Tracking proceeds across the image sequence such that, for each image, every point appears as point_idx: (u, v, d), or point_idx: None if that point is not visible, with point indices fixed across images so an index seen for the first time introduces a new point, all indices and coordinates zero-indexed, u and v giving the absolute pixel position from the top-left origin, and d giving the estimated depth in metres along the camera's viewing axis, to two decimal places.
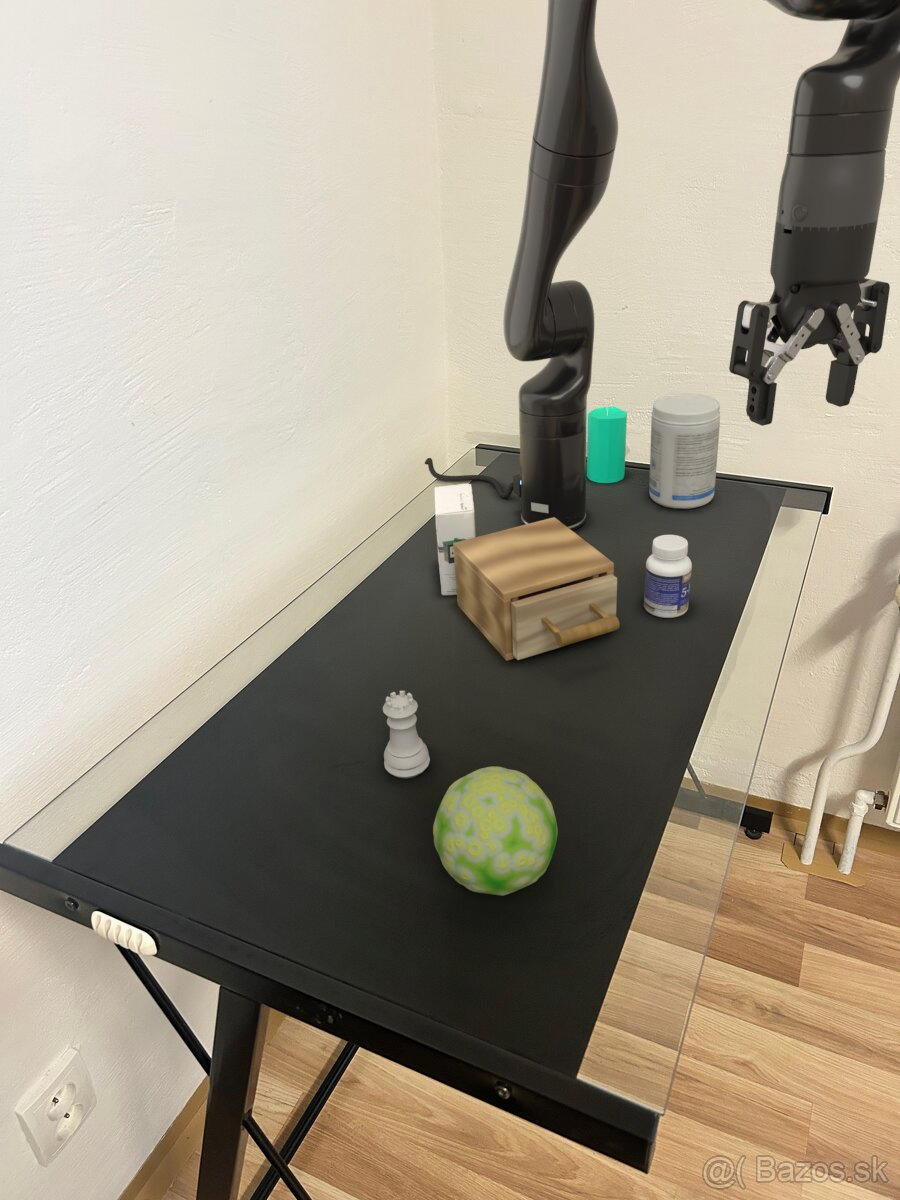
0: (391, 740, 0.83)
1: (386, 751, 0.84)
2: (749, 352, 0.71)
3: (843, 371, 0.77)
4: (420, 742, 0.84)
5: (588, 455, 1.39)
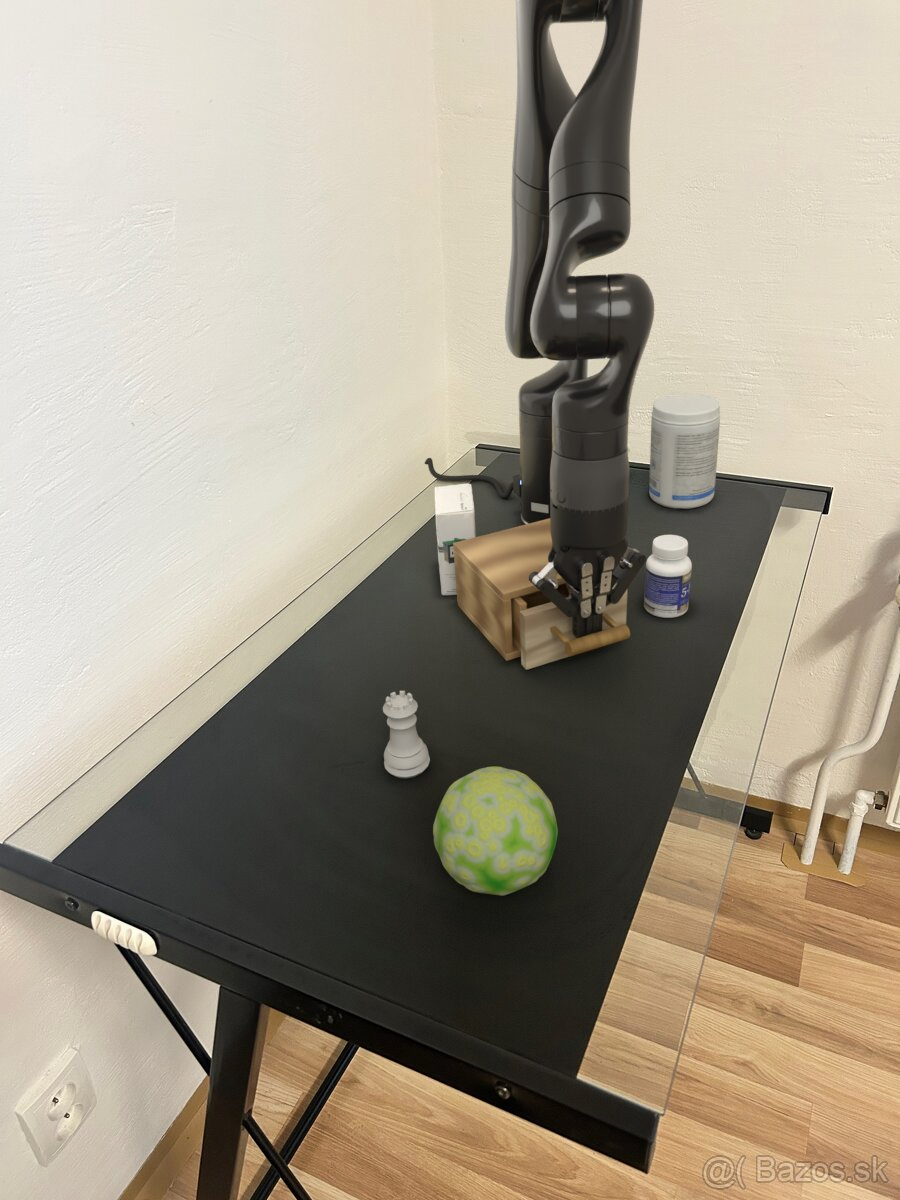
0: (391, 740, 0.83)
1: (386, 751, 0.84)
2: None
3: None
4: (420, 742, 0.84)
5: None
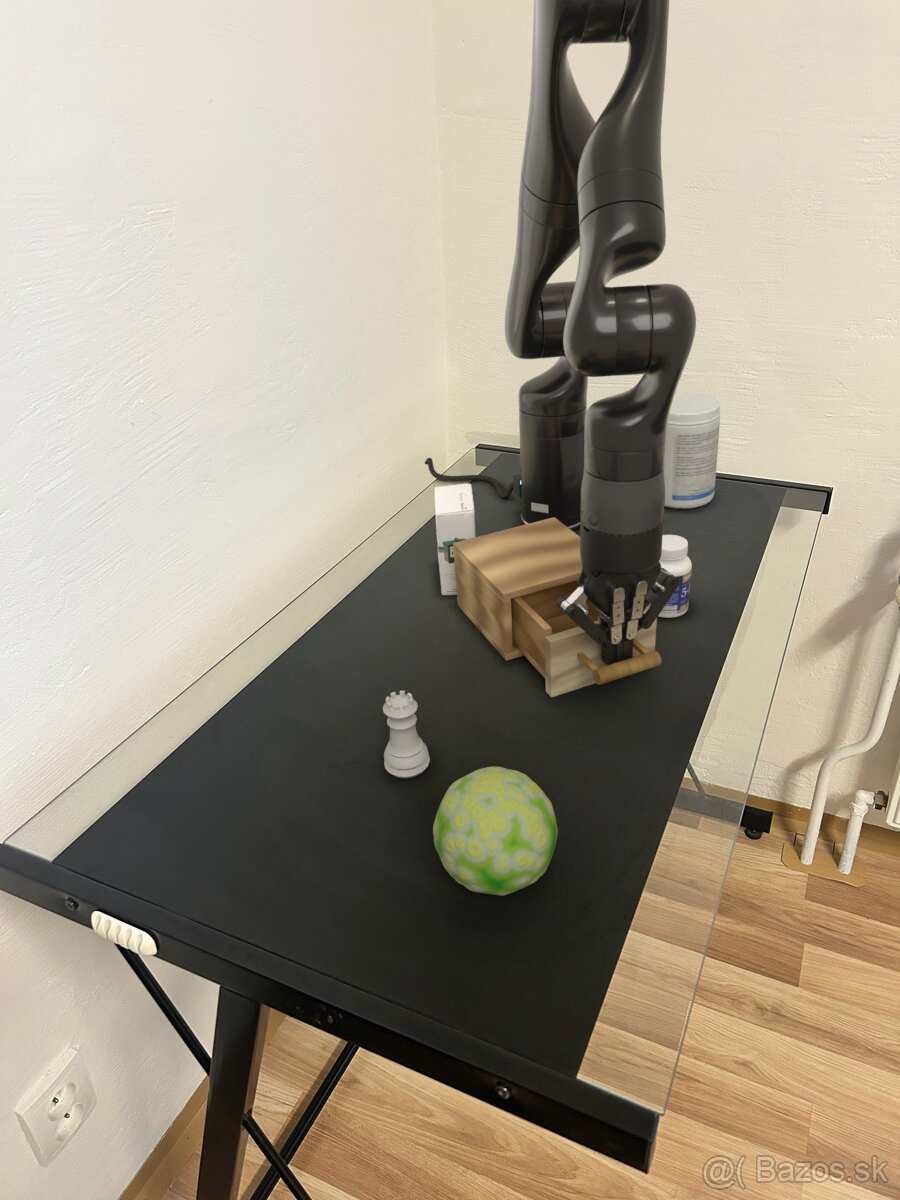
0: (391, 740, 0.83)
1: (386, 751, 0.84)
2: None
3: None
4: (420, 742, 0.84)
5: None
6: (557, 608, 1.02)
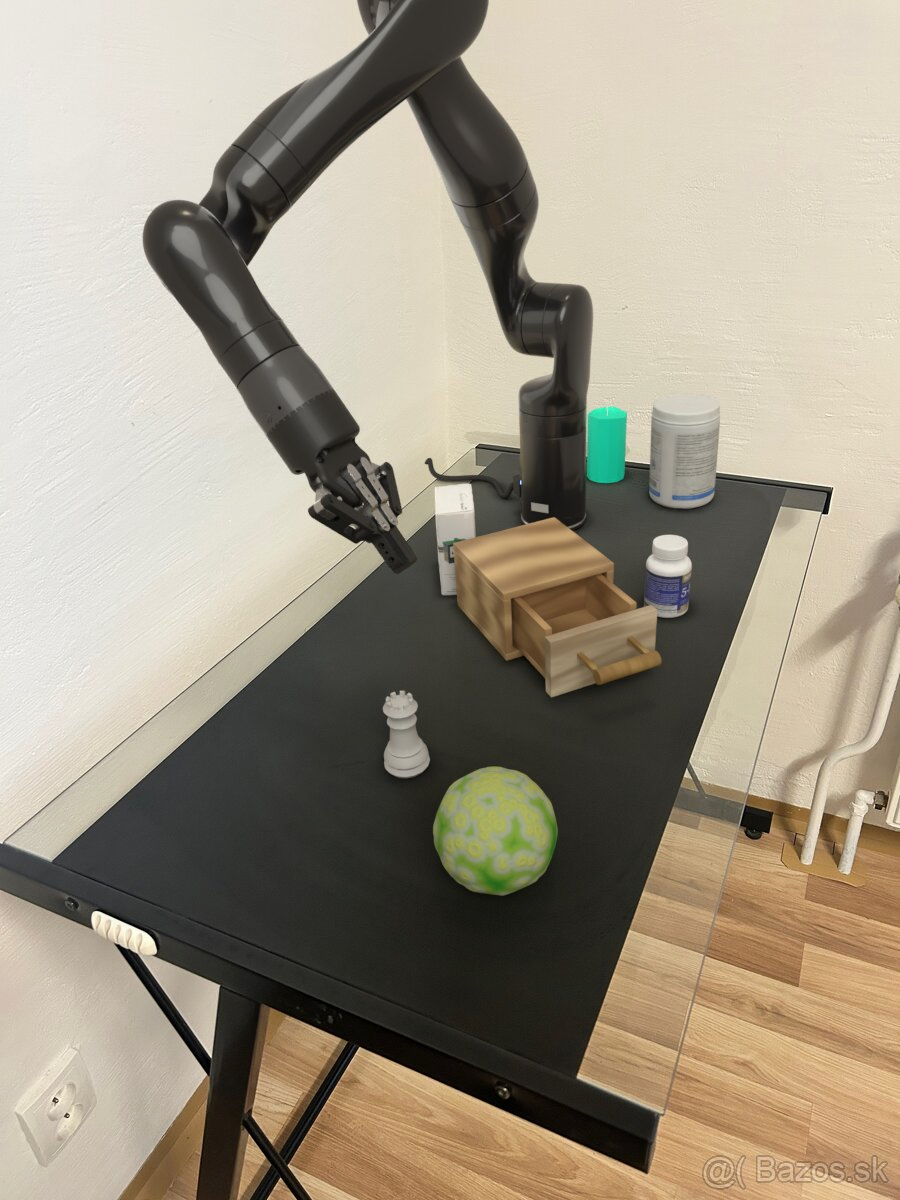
0: (391, 740, 0.83)
1: (386, 751, 0.84)
2: None
3: None
4: (420, 742, 0.84)
5: (588, 455, 1.39)
6: (557, 608, 1.02)
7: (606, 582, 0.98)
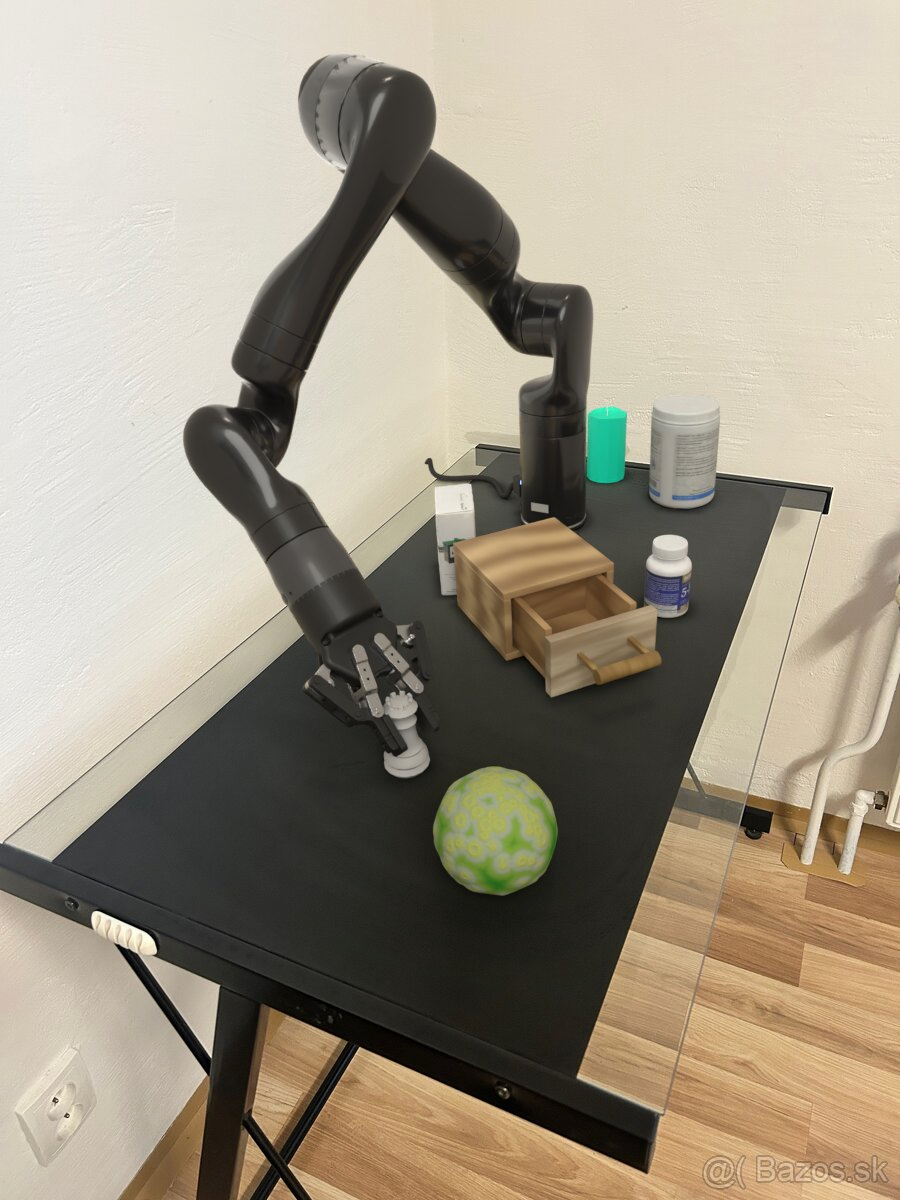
0: None
1: None
2: None
3: None
4: (420, 742, 0.84)
5: (588, 455, 1.39)
6: (557, 608, 1.02)
7: (606, 582, 0.98)
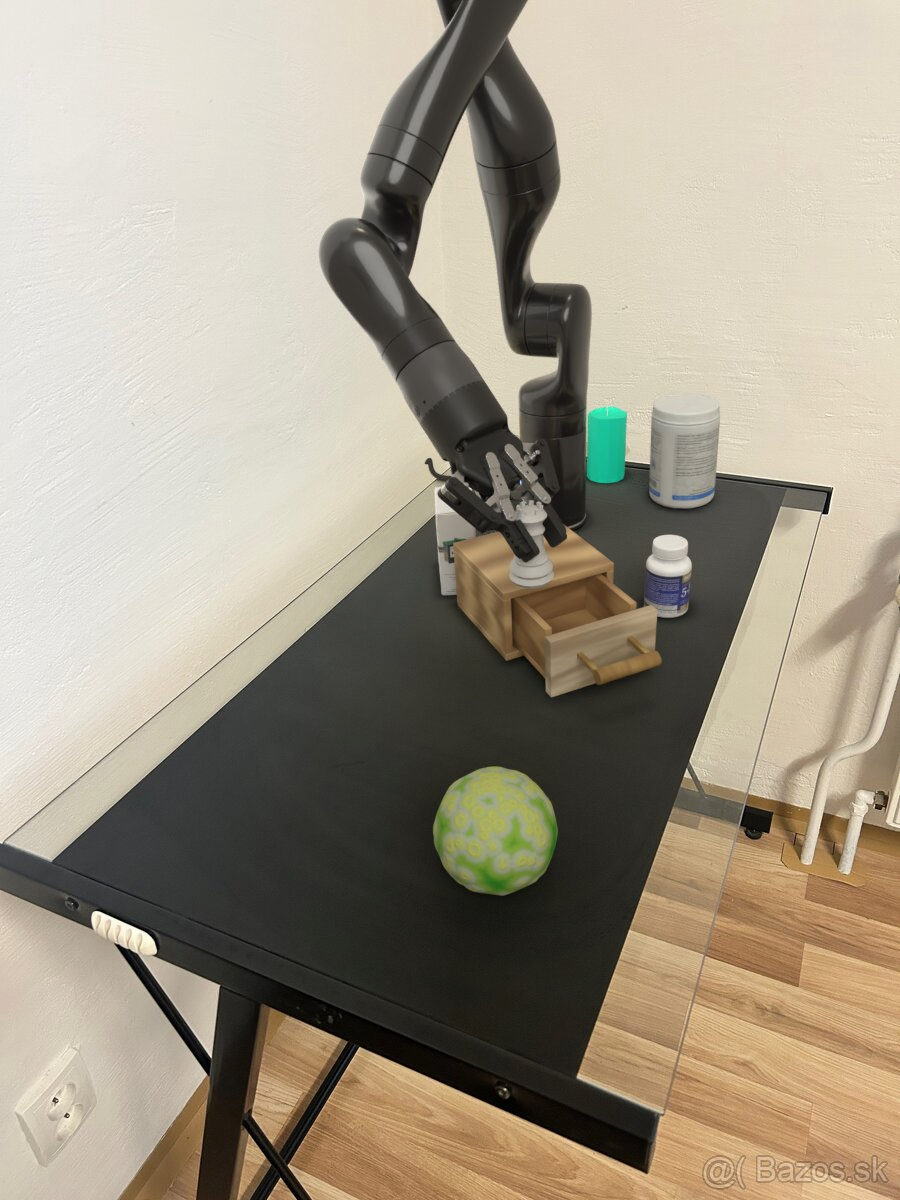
0: None
1: (512, 563, 0.86)
2: (543, 481, 0.88)
3: None
4: (546, 554, 0.86)
5: (588, 455, 1.39)
6: (557, 608, 1.02)
7: (606, 582, 0.98)
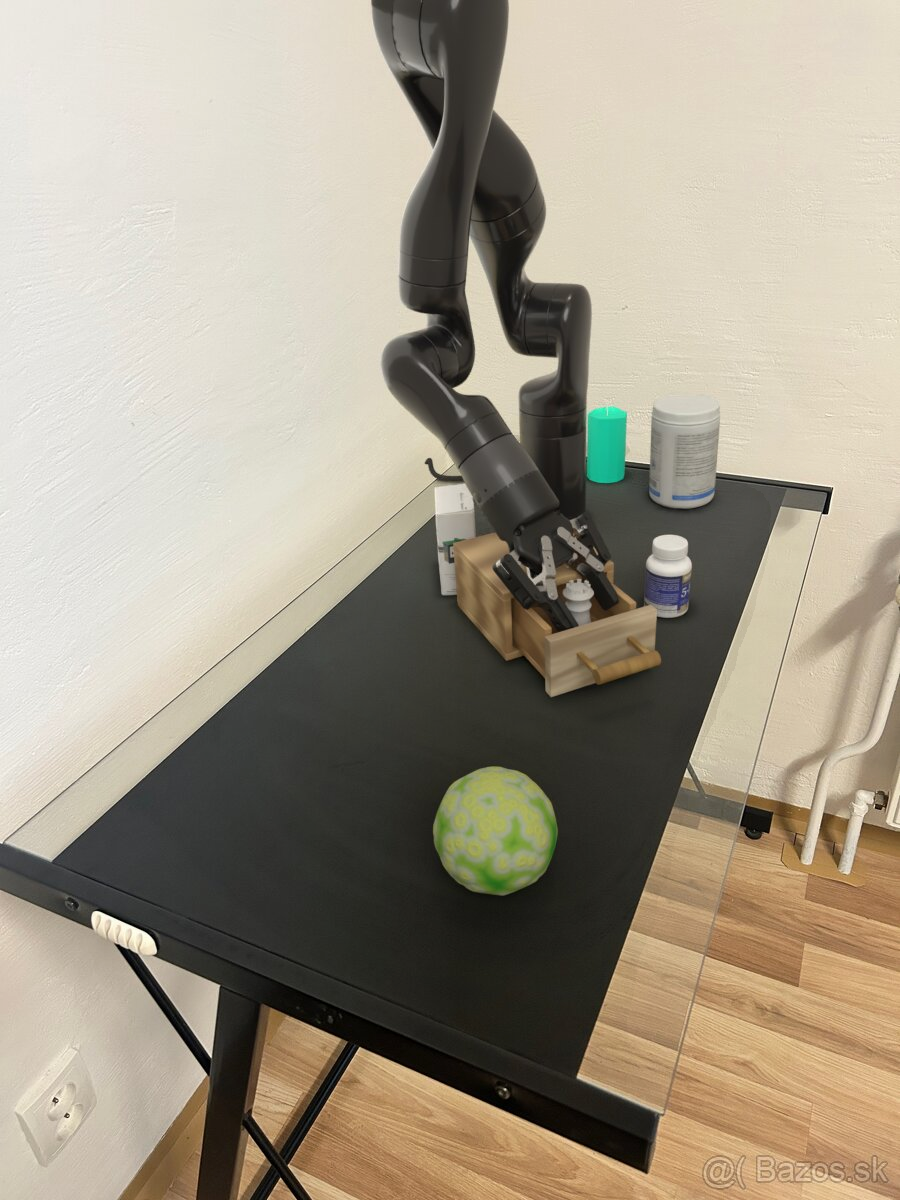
0: None
1: None
2: (592, 548, 0.98)
3: None
4: None
5: (588, 455, 1.39)
6: None
7: None
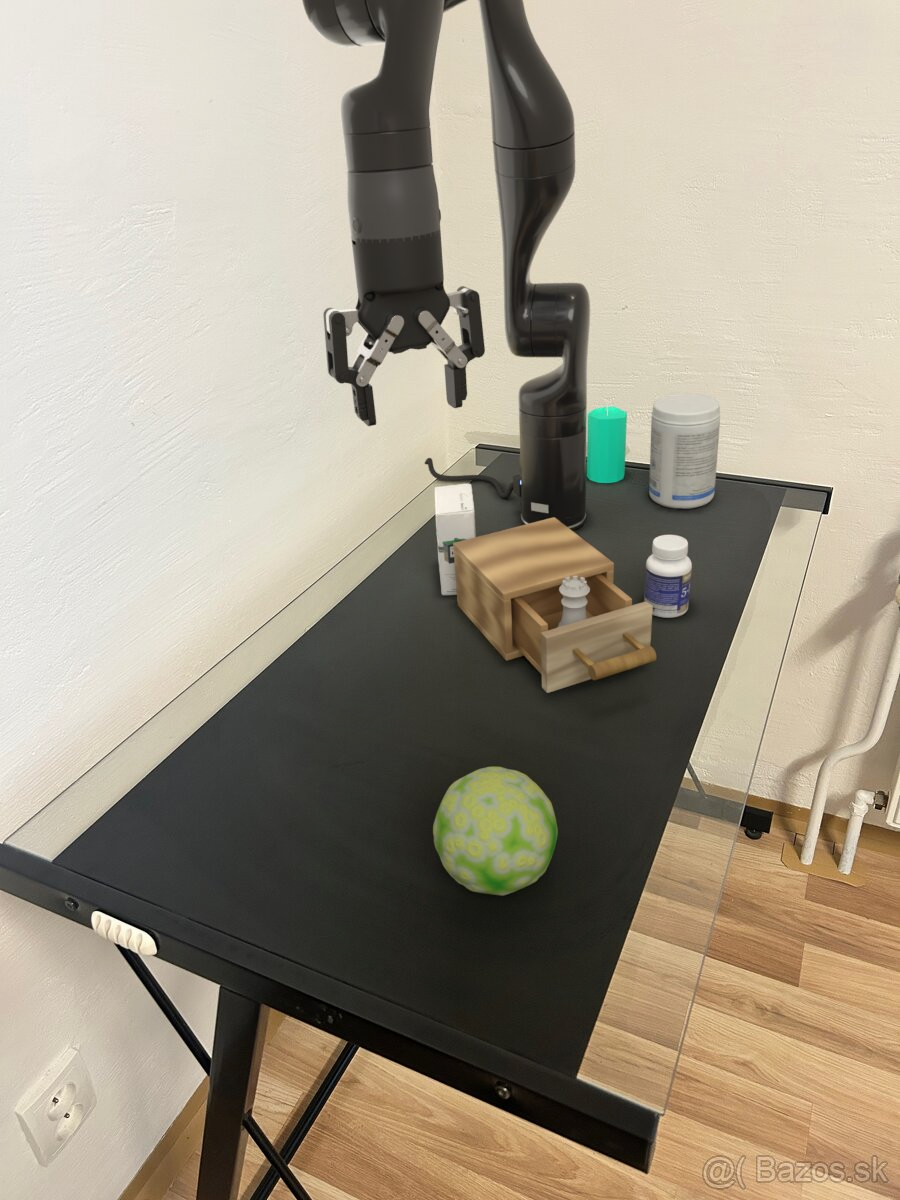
0: (564, 619, 0.95)
1: None
2: (333, 357, 0.75)
3: (451, 374, 0.81)
4: None
5: (588, 455, 1.39)
6: (553, 605, 1.02)
7: (602, 578, 0.98)
